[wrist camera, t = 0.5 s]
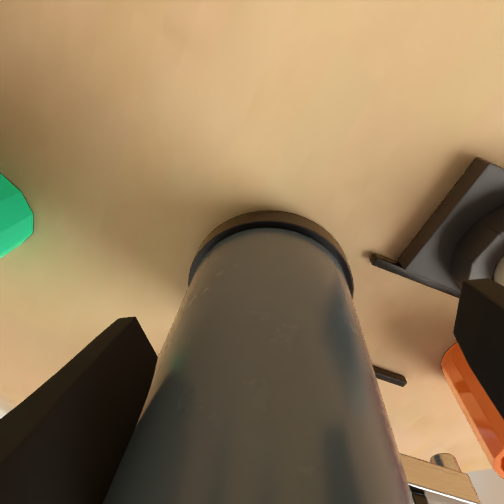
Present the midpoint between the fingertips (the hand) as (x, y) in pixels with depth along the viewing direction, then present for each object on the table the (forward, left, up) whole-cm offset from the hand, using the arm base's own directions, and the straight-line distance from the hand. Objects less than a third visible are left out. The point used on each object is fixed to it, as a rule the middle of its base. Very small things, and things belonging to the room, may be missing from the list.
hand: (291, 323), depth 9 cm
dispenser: (-8, 0, -10) cm, 13 cm away
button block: (-6, -12, -10) cm, 17 cm away
